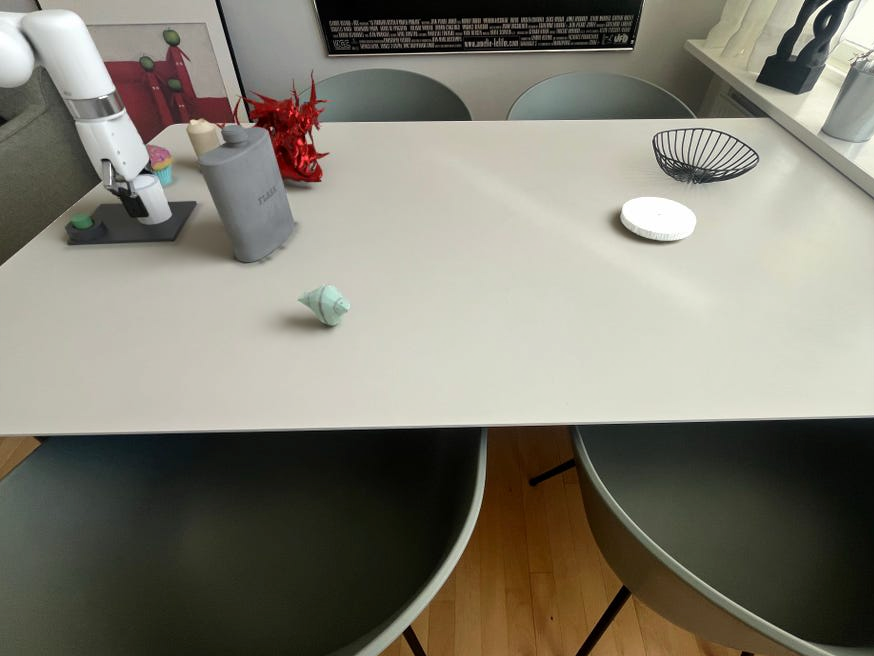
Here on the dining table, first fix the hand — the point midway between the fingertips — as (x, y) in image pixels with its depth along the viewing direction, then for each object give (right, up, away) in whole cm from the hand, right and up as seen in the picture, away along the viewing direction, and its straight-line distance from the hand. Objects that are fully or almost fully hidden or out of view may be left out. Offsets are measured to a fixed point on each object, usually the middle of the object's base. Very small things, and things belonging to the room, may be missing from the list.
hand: (147, 205), depth 90 cm
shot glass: (0, -2, +2) cm, 3 cm away
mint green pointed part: (+40, -24, -17) cm, 50 cm away
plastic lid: (+97, -3, +5) cm, 97 cm away
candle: (+2, +15, +19) cm, 24 cm away
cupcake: (-7, +10, +14) cm, 18 cm away
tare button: (-9, -5, -4) cm, 11 cm away
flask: (+24, -7, -2) cm, 25 cm away
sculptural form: (+20, +15, +19) cm, 32 cm away
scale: (-3, -3, +1) cm, 4 cm away
